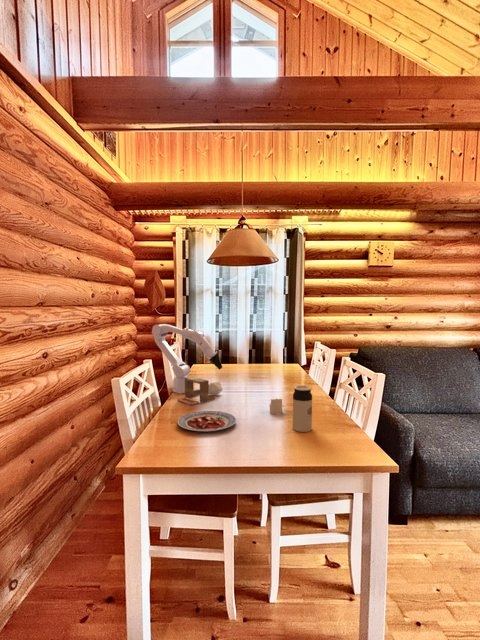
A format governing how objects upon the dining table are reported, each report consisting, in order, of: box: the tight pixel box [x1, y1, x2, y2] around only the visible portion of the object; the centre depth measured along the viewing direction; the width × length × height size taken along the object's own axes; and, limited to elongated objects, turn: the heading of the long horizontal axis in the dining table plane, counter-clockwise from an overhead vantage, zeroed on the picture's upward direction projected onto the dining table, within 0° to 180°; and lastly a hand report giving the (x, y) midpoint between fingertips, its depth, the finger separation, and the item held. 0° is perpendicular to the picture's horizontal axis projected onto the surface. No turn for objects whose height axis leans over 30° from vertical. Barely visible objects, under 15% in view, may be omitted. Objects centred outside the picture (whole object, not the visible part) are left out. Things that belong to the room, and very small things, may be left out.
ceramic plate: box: [177, 410, 237, 432], centre depth 156 cm, size 26×26×3 cm
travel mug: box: [292, 384, 313, 433], centre depth 150 cm, size 8×8×18 cm
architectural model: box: [269, 397, 285, 415], centre depth 173 cm, size 3×7×7 cm, turn 99°
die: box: [209, 380, 223, 397], centre depth 205 cm, size 8×9×10 cm
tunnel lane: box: [184, 376, 216, 404], centre depth 197 cm, size 15×10×11 cm, turn 44°
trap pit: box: [177, 396, 200, 407], centre depth 190 cm, size 12×5×1 cm, turn 44°
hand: (220, 368), depth 203 cm, fingers open, 7 cm apart
